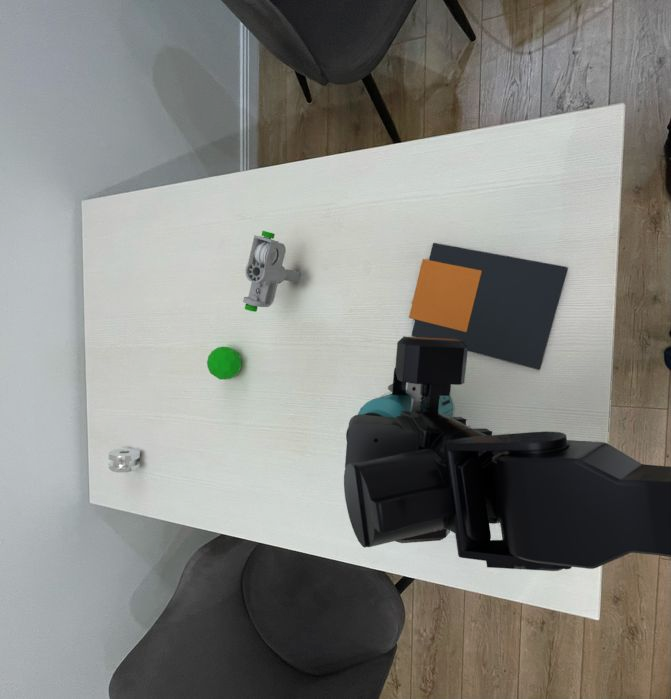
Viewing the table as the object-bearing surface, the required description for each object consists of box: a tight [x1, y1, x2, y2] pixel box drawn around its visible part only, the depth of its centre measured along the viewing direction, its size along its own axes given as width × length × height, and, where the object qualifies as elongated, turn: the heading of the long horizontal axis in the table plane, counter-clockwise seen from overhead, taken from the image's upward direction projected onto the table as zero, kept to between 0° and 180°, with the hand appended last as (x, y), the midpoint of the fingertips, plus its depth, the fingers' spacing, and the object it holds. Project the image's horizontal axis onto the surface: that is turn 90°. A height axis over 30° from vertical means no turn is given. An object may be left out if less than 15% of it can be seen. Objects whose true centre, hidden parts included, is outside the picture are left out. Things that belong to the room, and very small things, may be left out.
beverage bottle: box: [345, 391, 455, 441], centre depth 57 cm, size 6×7×20 cm
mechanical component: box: [242, 230, 302, 313], centre depth 73 cm, size 3×10×10 cm, turn 163°
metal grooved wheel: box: [108, 447, 141, 474], centre depth 92 cm, size 5×3×5 cm, turn 87°
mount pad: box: [408, 242, 569, 370], centre depth 65 cm, size 17×12×1 cm
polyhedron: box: [206, 346, 242, 380], centre depth 81 cm, size 5×5×5 cm
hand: (389, 417), depth 58 cm, fingers closed on beverage bottle, 6 cm apart
